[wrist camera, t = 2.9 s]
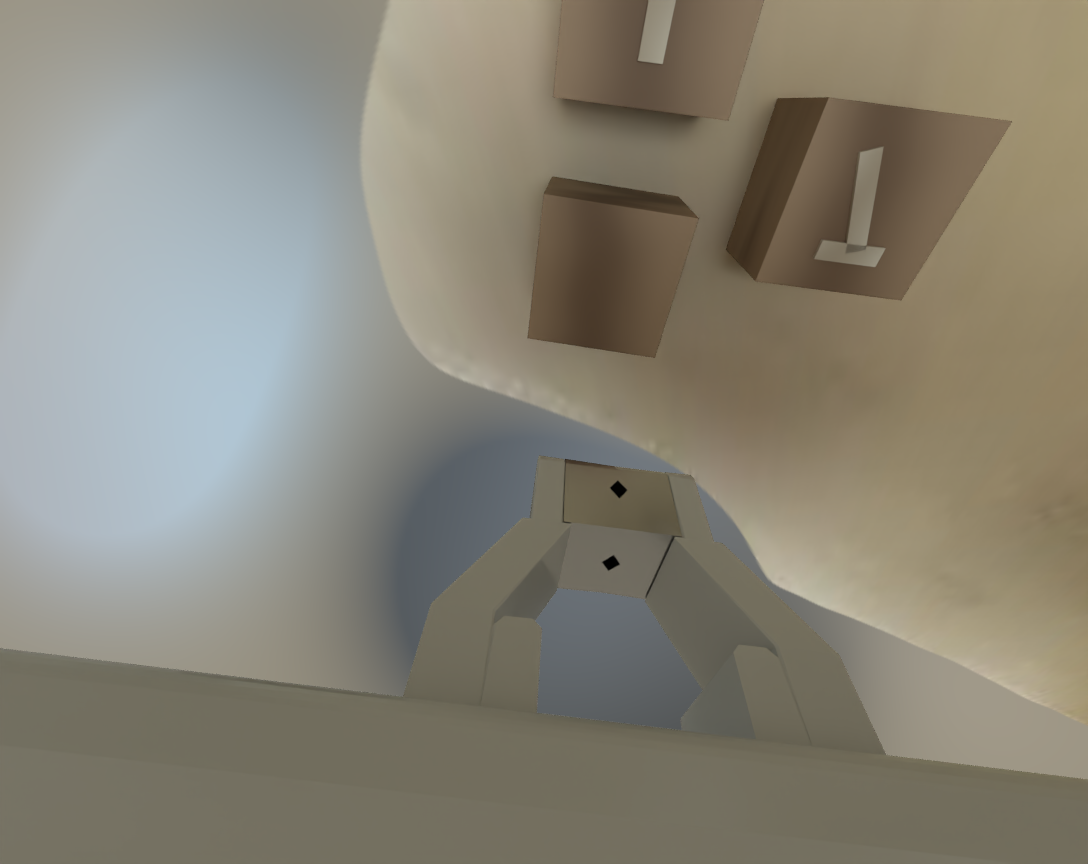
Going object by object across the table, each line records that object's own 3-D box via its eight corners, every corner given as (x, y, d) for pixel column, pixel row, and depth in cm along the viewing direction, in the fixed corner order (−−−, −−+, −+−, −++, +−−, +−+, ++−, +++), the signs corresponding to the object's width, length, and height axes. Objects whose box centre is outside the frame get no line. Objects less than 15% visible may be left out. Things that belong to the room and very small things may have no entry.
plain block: (677, 195, 21) (698, 218, 17) (644, 315, 24) (654, 357, 20) (552, 176, 21) (543, 194, 17) (537, 299, 24) (527, 338, 20)
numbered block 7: (919, 117, 18) (1015, 121, 14) (844, 264, 22) (903, 301, 18) (776, 98, 18) (830, 97, 14) (725, 248, 22) (756, 282, 18)
